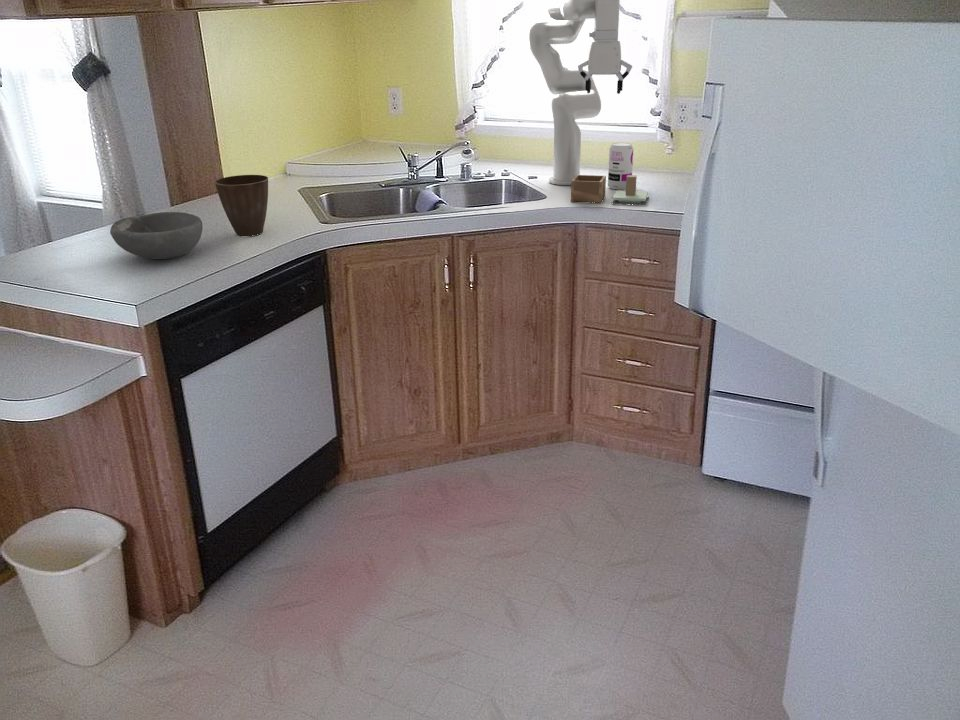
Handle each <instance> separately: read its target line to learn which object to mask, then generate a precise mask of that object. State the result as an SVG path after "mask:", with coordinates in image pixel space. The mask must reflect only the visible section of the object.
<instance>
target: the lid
mask: <svg viewBox="0 0 960 720" xmlns="http://www.w3.org/2000/svg"><path fill="white" fill-rule="evenodd" d="M637 177H638V175H636V174H634V175H633V174H632V175H627V177H626V189H625V190H616V191H615V193H614V195H613V196H612V201H613V200H618V202H632V203H640V202H641V201H645V200H646V198H647V197H648V194H649V191H638V190H637V180H638V179H637Z"/></svg>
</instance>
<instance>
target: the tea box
mask: <svg viewBox="0 0 960 720" xmlns="http://www.w3.org/2000/svg"><path fill="white" fill-rule="evenodd" d="M606 183H607V175H590V174H589V175H588V174H580V175H576V176H575V177H574V178H573V179H572V181H571V185H570V203H578V202H590V203H589V204H602V203H603V201H604V199H605V198H604V197H606V186H607V185H606ZM602 200H603V201H602ZM592 202H593V203H592ZM594 202H595V203H594ZM601 202H602V203H601Z"/></svg>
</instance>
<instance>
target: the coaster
mask: <svg viewBox="0 0 960 720" xmlns="http://www.w3.org/2000/svg"><path fill="white" fill-rule="evenodd" d="M649 199H650V197H649V196H647V198H646V200H645V201H641V202H640V203H632V202H618V200H613V199H612V202H611V204H612V203H613V204H612V205H616V204H630V205H629V206H639V205H646V206H647V203H648V202H647V201H649ZM632 204H633V205H632Z"/></svg>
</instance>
